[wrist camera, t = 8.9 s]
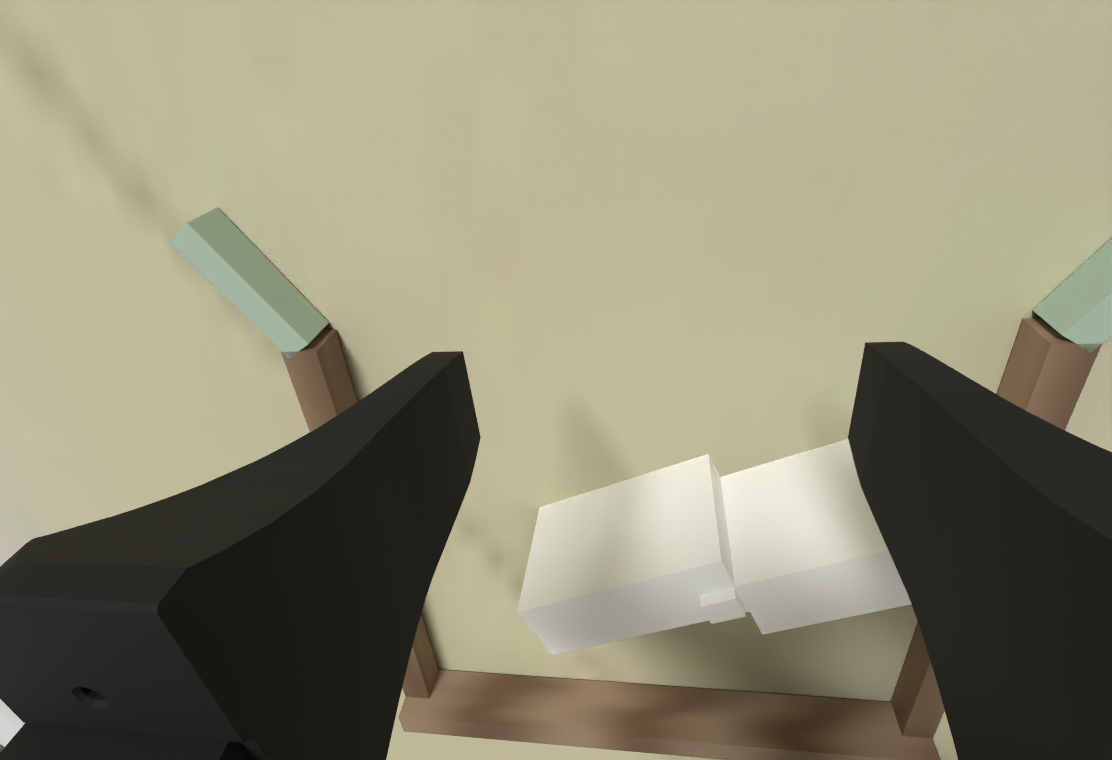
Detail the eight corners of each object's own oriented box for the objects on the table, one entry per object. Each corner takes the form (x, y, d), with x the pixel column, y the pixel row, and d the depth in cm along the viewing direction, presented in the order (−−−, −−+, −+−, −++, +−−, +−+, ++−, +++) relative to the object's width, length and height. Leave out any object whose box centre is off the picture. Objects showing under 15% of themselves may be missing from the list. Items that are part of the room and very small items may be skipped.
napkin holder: (498, 553, 27) (464, 678, 22) (538, 322, 21) (504, 425, 16) (843, 630, 26) (885, 772, 22) (989, 419, 20) (1094, 554, 15)
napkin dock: (1238, 157, 15) (1333, 185, 13) (969, 723, 28) (995, 783, 26) (192, 208, 19) (136, 235, 17) (377, 679, 32) (358, 727, 30)
